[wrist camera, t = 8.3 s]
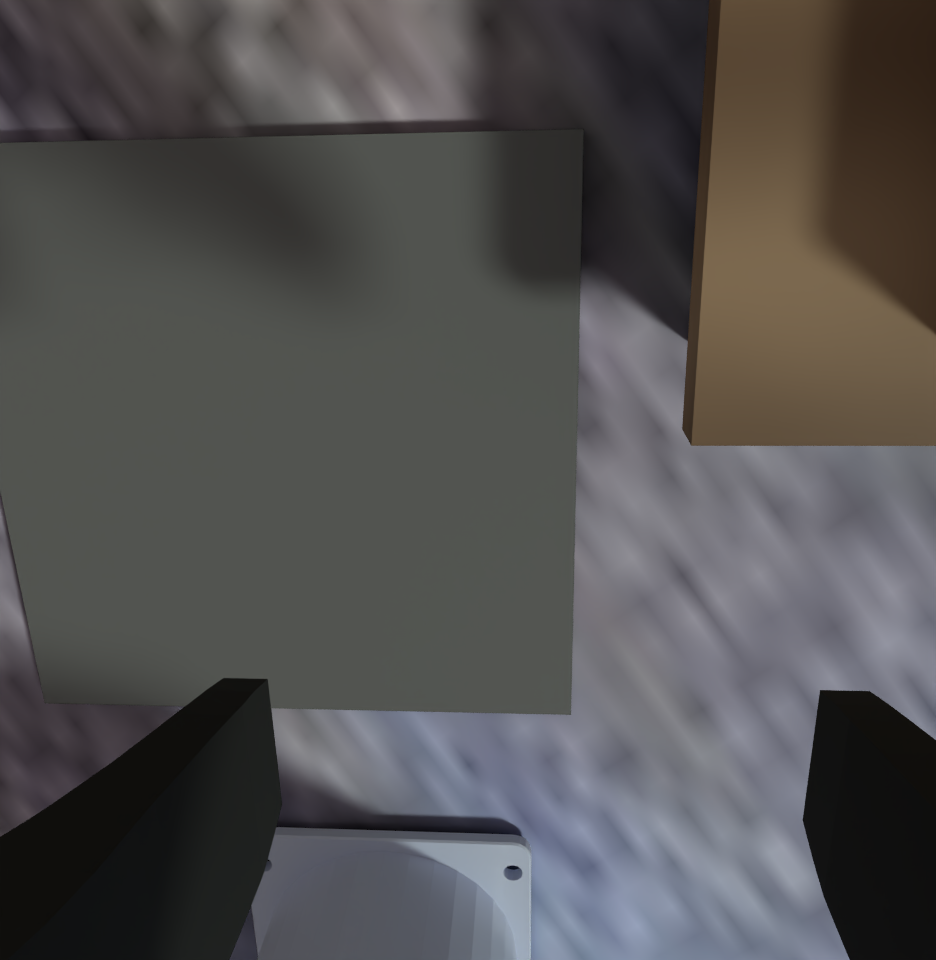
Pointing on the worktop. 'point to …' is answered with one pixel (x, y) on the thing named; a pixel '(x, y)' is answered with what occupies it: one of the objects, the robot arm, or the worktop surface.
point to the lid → (815, 227)
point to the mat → (295, 416)
